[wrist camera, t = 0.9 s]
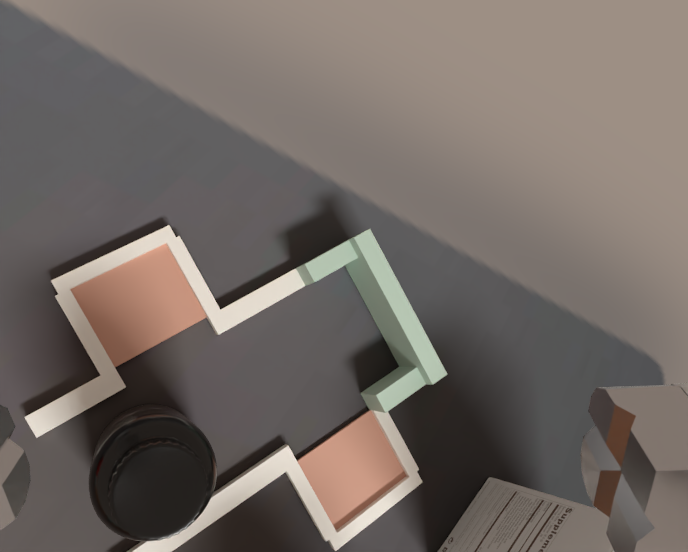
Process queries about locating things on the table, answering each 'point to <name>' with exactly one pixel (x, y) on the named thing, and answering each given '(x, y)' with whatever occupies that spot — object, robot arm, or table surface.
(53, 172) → the table surface
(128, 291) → the trap lane
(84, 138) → the table surface
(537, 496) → the supplement box
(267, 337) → the table surface
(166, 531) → the supplement bottle
